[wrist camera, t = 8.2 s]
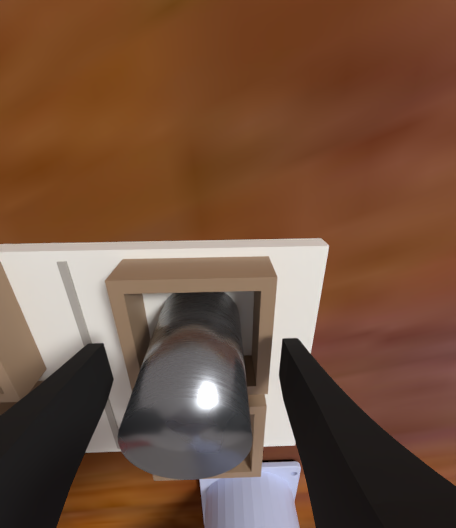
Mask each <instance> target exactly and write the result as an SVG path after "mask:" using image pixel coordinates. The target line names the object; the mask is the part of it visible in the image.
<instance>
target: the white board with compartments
mask: <svg viewBox="0 0 456 528" xmlns="http://www.w3.org/2000/svg"><path fill="white" fill-rule="evenodd" d="M328 249H329V245H328V244H327V243H326V242H325V241H324V240H323V239H321V238H309V239H255V240H200V241H146V242H91V243H36V244H0V415H2V414H3V413H4V412H6V411H7V410H8V409H10V408H11V407H12V406H13V405H15V404H16V403H17V402H18V401H20V400H21V399H22V398H23V397H25V396H26V395H27V394H29V393H30V392H31V391H32V390H34V389H35V388H36V387H37V386H39V385H40V384H41V383H42V382H43V381H44V380H46V379H47V378H48V377H49V376H50V375H52V374H53V373H54V372H55V371H56V370H58V369H59V368H60V367H61V366H62V365H63V364H65V363H66V362H67V361H68V360H69V359H70V358H71V357H73V356H74V355H75V354H76V353H77V352H79V351H80V350H81V349H82V348H83V347H85V346H86V345H87V344H89V343H104V346H105V350H106V353H107V357H108V361H109V364H110V368H111V371H112V375H113V378H114V381H113V384H112V388H111V391H110V394H109V397H108V400H107V403H106V406H105V409H104V411H103V413H102V416H101V418H100V420H99V422H98V425H97V427H96V429H95V432H94V434H93V436H92V438H91V440H90V443H89V445H88V447H87V449H86V452H85V453H89V452H118V451H121V449H120V447H119V444H118V431H119V428H120V425H121V422H122V419H123V417H124V414H125V411H126V408H127V405H128V402H129V400H130V397H131V394H132V391H133V388H134V386H135V383H136V380H137V377H138V374H139V371H140V369H141V366H142V363H143V360H144V357H145V354H146V352H147V349H148V346H149V343H150V340H151V338H152V335H153V332H154V329H155V326H156V323H157V321H158V318H159V315H160V312H161V309H162V307H163V304H164V303H165V301H166V300H167V298H168V297H169V296H170V295H171V294H172V293H188V292H225V293H226V294H227V295H229V296H230V297H231V298H232V299H233V301H234V302H235V304H236V305H237V308H238V311H239V317H240V326H241V335H242V345H243V354H244V363H245V373H246V382H247V392H248V401H249V410H250V420H251V429H252V438H253V441H252V447H251V450H250V452H249V454H248V455H247V457H246V458H245V459H244V460H243V461H242V462H241V463H240V464H239V465H237V466H236V467H234V468H233V469H231V470H229V471H227V472H225V473H222V474H219V475H216V476H213V477H209V478H203V479H216V478H243V477H261V469H262V457H263V446H291V445H295V438H294V435H293V432H292V428H291V425H290V421H289V418H288V415H287V411H286V408H285V404H284V401H283V396H282V390H281V385H280V379H279V367H280V358H281V348H282V339H283V338H298V339H299V340H300V341H301V342H302V344H303V345H304V346H305V347H306V349H307V350H308V351H309V352H310V354H311V349H312V343H313V337H314V331H315V325H316V319H317V314H318V308H319V302H320V296H321V290H322V284H323V279H324V273H325V267H326V261H327V255H328ZM153 478H154V481H162V480H181V479H171V478H165V477H161V476H157V475H154V474H153Z"/></svg>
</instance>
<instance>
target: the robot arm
mask: <svg viewBox="0 0 456 528" xmlns="http://www.w3.org/2000/svg"><path fill="white" fill-rule="evenodd" d="M279 379H280V385H281V390H282V396H283V401H284V404H285V408H286V411H287V415H288V418H289V421H290V425H291V428H292V432H293V435H294V438H295V442H296V445H297V448H298V452H299V455H300V459H301V462H302V466H303V470H304V474H305V478H306V482H307V487H308V492H309V496H310V501H311V506H312V511H313V516H314V521H315V526H316V528H456V486H455V485H453V484H452V483H451V482H449V481H448V480H446V479H445V478H444V477H442V476H441V475H440V474H438V473H437V472H436V471H434V470H433V469H432V468H430V467H429V466H428V465H426V464H425V463H424V462H423V461H421V460H420V459H419V458H418V457H416V456H415V455H414V454H413V453H411V452H410V451H409V450H407V449H406V448H405V447H404V446H402V445H401V444H400V443H399V442H397V441H396V440H395V439H394V438H393V437H392V436H390V435H389V434H388V433H387V432H386V431H385V430H383V429H382V428H381V427H380V426H379V425H378V424H377V423H376V422H375V421H373V420H372V419H371V418H370V417H369V416H368V415H367V414H366V413H365V412H364V411H363V410H362V409H361V408H360V407H359V406H358V405H357V404H356V403H355V402H354V401H353V400H352V399H351V398H350V397H349V396H348V395H347V394H346V393H345V392H344V391H343V390H342V389H341V388H340V387H339V386H338V385H337V384H336V383H335V382H334V380H333V379H332V378H331V377H330V376H329V375H328V374H327V373H326V372H325V370H324V369H323V368H322V367H321V366H320V365H319V363H318V362H317V361H316V360H315V359H314V357H313V356H312V355H311V354H310V352H309V351H308V350H307V349H306V347H305V346H304V345H303V344H302V342H301V341H300V340H299V339H298V338H283V339H282V348H281V358H280V367H279ZM113 381H114V378H113V375H112V371H111V368H110V364H109V361H108V357H107V353H106V350H105V346H104V343H89V344H87V345H86V346H85V347H83V348H82V349H81V350H80V351H79V352H77V353H76V354H75V355H74V356H73V357H71V358H70V359H69V360H68V361H67V362H66V363H65V364H63V365H62V366H61V367H60V368H59V369H58V370H56V371H55V372H54V373H53V374H52V375H50V376H49V377H48V378H47V379H46V380H44V381H43V382H42V383H41V384H40V385H39V386H37V387H36V388H35V389H34V390H32V391H31V392H30V393H29V394H27V395H26V396H25V397H23V398H22V399H21V400H20V401H18V402H17V403H16V404H15V405H13V406H12V407H11V408H10V409H8V410H7V411H6V412H4V413H3V414H2V415H0V528H56V527H57V524H58V521H59V518H60V515H61V512H62V509H63V507H64V504H65V501H66V498H67V495H68V492H69V490H70V487H71V484H72V482H73V479H74V477H75V474H76V472H77V469H78V467H79V465H80V463H81V461H82V458H83V456H84V454H85V452H86V449H87V447H88V445H89V443H90V440H91V438H92V436H93V434H94V432H95V429H96V427H97V425H98V422H99V420H100V418H101V416H102V413H103V411H104V409H105V406H106V403H107V400H108V397H109V394H110V391H111V388H112V384H113ZM300 471H301V467H300V464H299V463H298V462H296V461H287V462H262V469H261V477H243V478H216V479H199V481H200V490H201V499H202V509H203V518H204V525H205V528H299V523H298V518H297V513H296V508H295V503H294V501H295V496H296V491H297V486H298V481H299V476H300Z"/></svg>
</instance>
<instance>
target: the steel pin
mask: <svg viewBox="0 0 456 528" xmlns="http://www.w3.org/2000/svg"><path fill="white" fill-rule="evenodd" d="M252 441H253V438H252V429H251V420H250V410H249V401H248V392H247V382H246V373H245V363H244V354H243V345H242V335H241V326H240V317H239V311H238V308H237V305H236V304H235V302H234V301H233V299H232V298H231V297H230V296H229V295H227V294H226V293H225V292H188V293H172V294H171V295H170V296H169V297H168V298H167V300H166V301H165V303H164V304H163V307H162V309H161V312H160V315H159V318H158V321H157V323H156V326H155V329H154V332H153V335H152V338H151V340H150V343H149V346H148V349H147V352H146V354H145V357H144V360H143V363H142V366H141V369H140V371H139V374H138V377H137V380H136V383H135V386H134V388H133V391H132V394H131V397H130V400H129V402H128V405H127V408H126V411H125V414H124V417H123V419H122V422H121V425H120V428H119V431H118V444H119V447H120V449H121V452H122V453H123V454H124V456H125V457H126V458H127V459H128V460H129V461H130V462H131V463H132V464H134V465H135V466H137V467H138V468H140V469H142V470H144V471H146V472H148V473H151V474H154V475H157V476H161V477H165V478H171V479H181V480H194V479H203V478H209V477H213V476H216V475H219V474H222V473H225V472H227V471H229V470H231V469H233V468H234V467H236V466H237V465H239V464H240V463H241V462H242V461H243V460H244V459H245V458H246V457H247V455H248V454H249V452H250V450H251V447H252Z"/></svg>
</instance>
